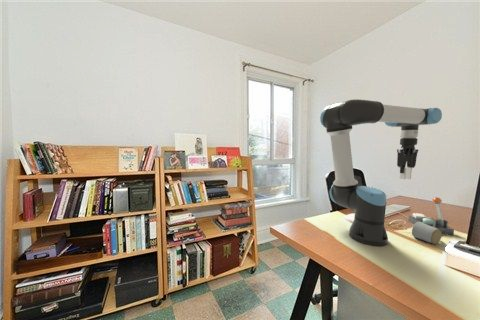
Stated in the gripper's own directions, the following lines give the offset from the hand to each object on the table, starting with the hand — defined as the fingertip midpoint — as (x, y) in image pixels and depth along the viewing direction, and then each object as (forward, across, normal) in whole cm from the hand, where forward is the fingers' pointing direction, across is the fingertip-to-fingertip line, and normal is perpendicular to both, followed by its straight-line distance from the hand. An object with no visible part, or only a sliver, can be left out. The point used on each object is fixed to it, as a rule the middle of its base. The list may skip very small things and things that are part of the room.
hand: (405, 178), depth 114 cm
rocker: (+20, +4, -6) cm, 22 cm away
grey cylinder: (+25, -14, -22) cm, 36 cm away
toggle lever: (+20, +4, -17) cm, 26 cm away
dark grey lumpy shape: (+25, +4, -11) cm, 27 cm away
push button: (+21, -1, -13) cm, 25 cm away
